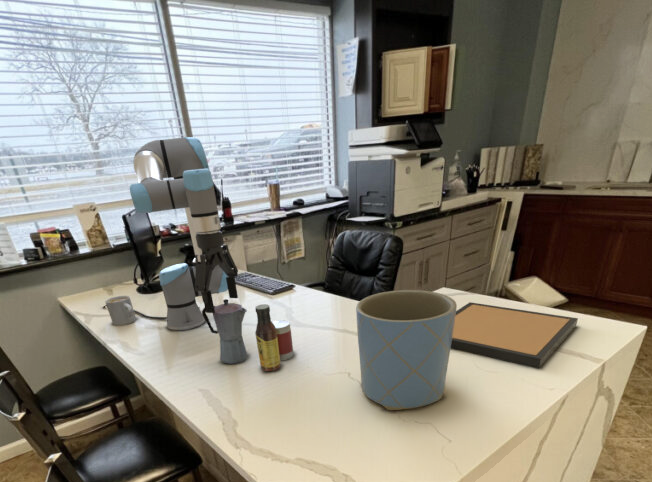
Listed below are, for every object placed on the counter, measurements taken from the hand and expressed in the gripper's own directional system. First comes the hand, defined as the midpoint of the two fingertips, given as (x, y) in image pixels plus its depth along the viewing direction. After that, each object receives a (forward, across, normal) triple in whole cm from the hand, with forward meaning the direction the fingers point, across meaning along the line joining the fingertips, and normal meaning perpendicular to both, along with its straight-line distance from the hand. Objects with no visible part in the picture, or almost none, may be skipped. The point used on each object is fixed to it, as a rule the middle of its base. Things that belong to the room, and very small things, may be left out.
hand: (222, 305), depth 126 cm
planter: (+18, -9, -57) cm, 61 cm away
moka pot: (+18, -1, 0) cm, 18 cm away
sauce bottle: (+18, -4, -16) cm, 25 cm away
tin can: (+18, +5, -16) cm, 25 cm away
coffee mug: (+19, +24, +69) cm, 75 cm away
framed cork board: (+18, +34, -80) cm, 89 cm away
